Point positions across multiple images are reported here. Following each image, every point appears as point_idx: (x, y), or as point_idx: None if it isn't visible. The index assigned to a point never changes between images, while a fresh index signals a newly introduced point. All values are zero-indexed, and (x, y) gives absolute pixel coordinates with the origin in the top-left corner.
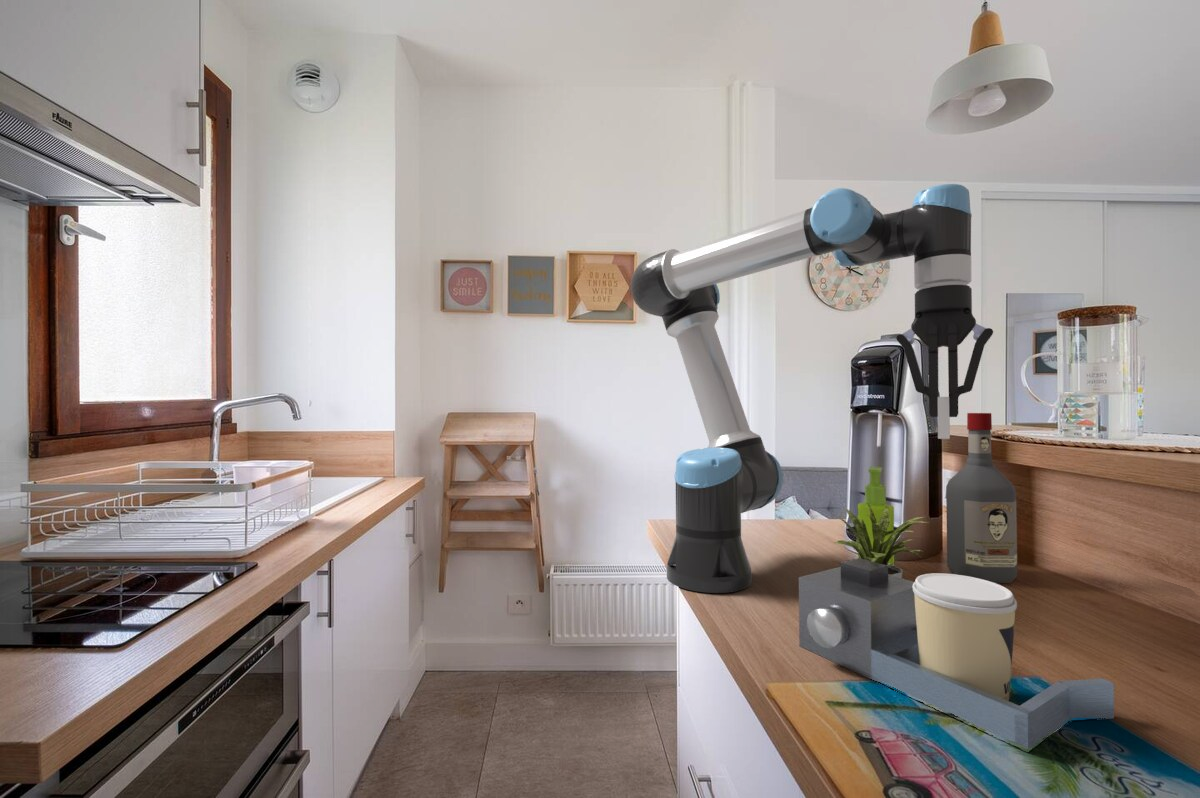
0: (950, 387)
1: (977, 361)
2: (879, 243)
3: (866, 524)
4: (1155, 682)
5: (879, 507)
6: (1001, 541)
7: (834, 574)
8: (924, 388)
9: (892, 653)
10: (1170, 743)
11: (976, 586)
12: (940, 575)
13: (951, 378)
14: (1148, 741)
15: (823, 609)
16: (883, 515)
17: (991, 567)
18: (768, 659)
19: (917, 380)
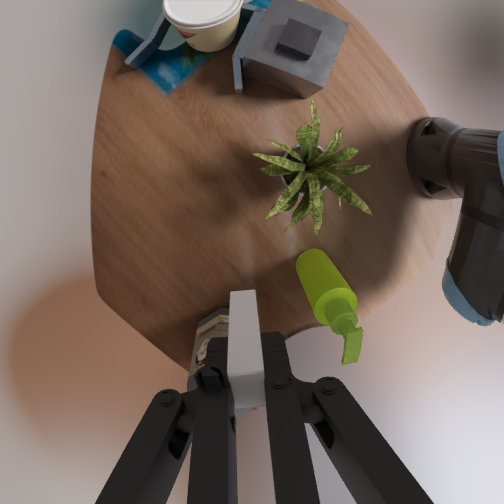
0: (221, 402)
1: (115, 480)
2: None
3: (338, 276)
4: (106, 145)
5: (330, 293)
6: (203, 340)
7: (325, 43)
8: (312, 398)
9: (255, 11)
10: (113, 60)
11: (190, 5)
12: (221, 14)
13: (216, 431)
14: (122, 54)
15: (312, 6)
16: (318, 193)
17: (213, 318)
18: (336, 16)
19: (345, 411)
